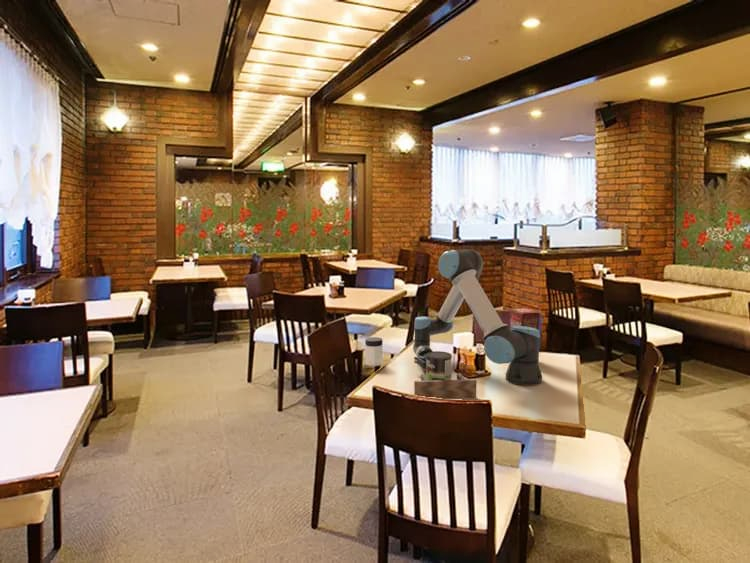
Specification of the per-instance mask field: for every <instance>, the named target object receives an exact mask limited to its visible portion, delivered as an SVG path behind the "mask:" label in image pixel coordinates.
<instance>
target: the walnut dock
mask: <svg viewBox="0 0 750 563" xmlns="http://www.w3.org/2000/svg"><path fill="white" fill-rule="evenodd" d="M420 375H421V377H420V378H421V379H420V380H414V381H413V382H414V385H413V387H414V389H413V391H414V394H413V396H414V395H417V396H425V397H436V398H454V399H476V398H477V382H478V381H477V378H474V379H473V378H471V379H470V378H469V379H468V378H467V379H466V378H465V377H464V376H463V374H462V373H461V372H457V373H456V379H451V380H428V379H427V374H426V373H425V374H424V373H422V374H420Z"/></svg>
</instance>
